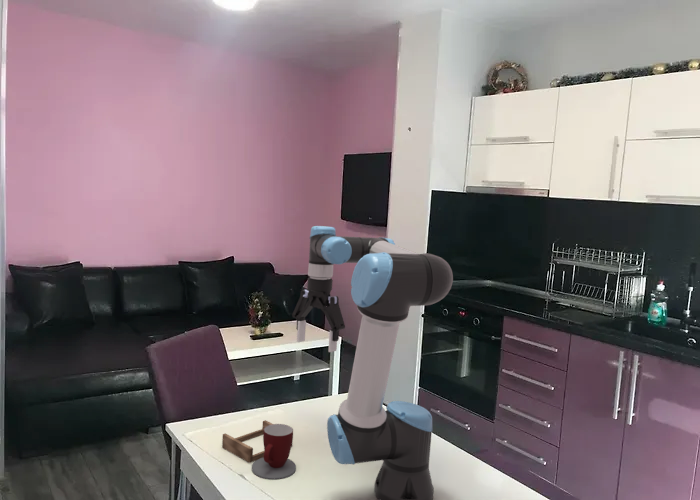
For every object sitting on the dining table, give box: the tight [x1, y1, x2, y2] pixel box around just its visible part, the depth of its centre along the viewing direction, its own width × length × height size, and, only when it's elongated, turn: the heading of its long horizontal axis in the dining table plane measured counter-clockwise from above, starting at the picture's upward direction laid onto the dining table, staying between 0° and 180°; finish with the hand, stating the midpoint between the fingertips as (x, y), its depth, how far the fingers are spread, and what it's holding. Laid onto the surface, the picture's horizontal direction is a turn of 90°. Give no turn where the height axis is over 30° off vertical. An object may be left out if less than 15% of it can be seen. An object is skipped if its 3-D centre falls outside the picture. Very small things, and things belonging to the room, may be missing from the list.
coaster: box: [251, 457, 297, 481], centre depth 156 cm, size 12×12×1 cm
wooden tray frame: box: [221, 420, 293, 464], centre depth 168 cm, size 13×16×4 cm
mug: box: [262, 423, 294, 468], centre depth 155 cm, size 11×8×10 cm
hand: (316, 346), depth 175 cm, fingers open, 13 cm apart
